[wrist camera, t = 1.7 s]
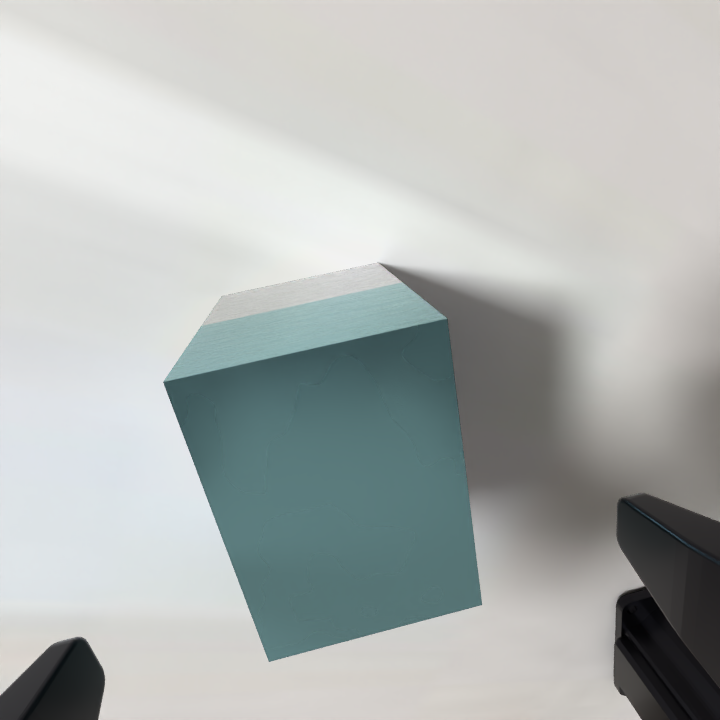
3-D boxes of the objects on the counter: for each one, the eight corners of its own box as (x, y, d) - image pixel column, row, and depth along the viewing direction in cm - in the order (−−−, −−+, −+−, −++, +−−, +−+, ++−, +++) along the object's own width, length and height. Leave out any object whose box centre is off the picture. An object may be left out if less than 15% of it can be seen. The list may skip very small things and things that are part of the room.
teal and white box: (221, 295, 14) (163, 381, 8) (377, 262, 15) (447, 318, 8) (277, 479, 17) (269, 661, 10) (409, 447, 17) (482, 604, 11)
